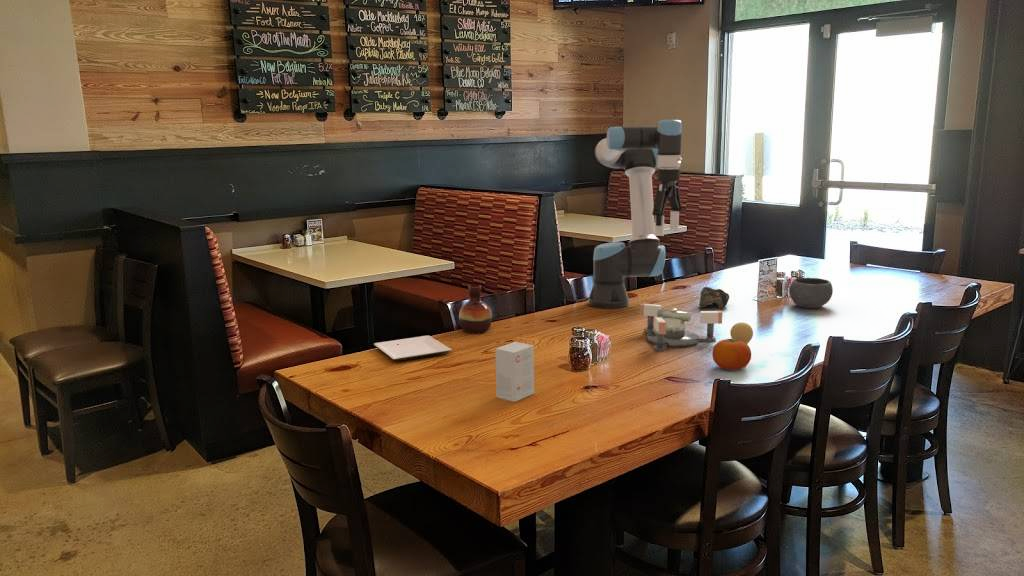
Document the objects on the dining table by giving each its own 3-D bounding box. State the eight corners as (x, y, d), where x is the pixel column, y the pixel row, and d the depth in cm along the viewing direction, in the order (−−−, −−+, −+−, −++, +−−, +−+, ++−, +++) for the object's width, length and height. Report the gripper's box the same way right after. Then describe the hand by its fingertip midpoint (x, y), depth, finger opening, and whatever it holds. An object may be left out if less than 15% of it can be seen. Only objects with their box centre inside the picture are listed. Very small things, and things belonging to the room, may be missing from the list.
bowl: (787, 310, 284) (789, 283, 281) (789, 301, 297) (791, 275, 295) (831, 313, 278) (833, 285, 276) (831, 304, 292) (833, 278, 289)
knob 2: (654, 342, 240) (654, 317, 238) (661, 342, 240) (661, 317, 238) (658, 348, 233) (659, 322, 232) (665, 348, 233) (666, 322, 232)
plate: (393, 365, 226) (393, 358, 226) (373, 349, 242) (373, 343, 242) (452, 355, 235) (452, 349, 234) (429, 341, 251) (429, 334, 250)
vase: (497, 328, 264) (496, 283, 261) (483, 336, 255) (482, 290, 251) (468, 325, 269) (467, 281, 266) (453, 333, 259) (451, 287, 256)
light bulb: (752, 353, 231) (754, 321, 229) (751, 359, 226) (753, 326, 223) (730, 351, 233) (731, 319, 231) (728, 357, 228) (730, 324, 226)
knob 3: (700, 337, 245) (701, 312, 243) (699, 335, 247) (700, 310, 245) (721, 337, 245) (722, 312, 243) (719, 335, 247) (720, 310, 245)
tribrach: (621, 345, 242) (621, 313, 240) (647, 329, 259) (647, 300, 257) (696, 356, 229) (697, 322, 227) (718, 339, 247) (719, 308, 245)
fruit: (744, 376, 211) (745, 348, 209) (706, 370, 216) (707, 342, 215) (754, 365, 220) (756, 338, 218) (718, 360, 225) (719, 333, 224)
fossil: (727, 302, 294) (730, 282, 288) (728, 318, 288) (731, 298, 281) (697, 300, 296) (700, 280, 290) (698, 317, 289) (701, 296, 283)
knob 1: (660, 328, 256) (661, 304, 254) (659, 330, 254) (659, 306, 252) (641, 326, 258) (642, 303, 257) (639, 328, 257) (640, 304, 255)
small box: (515, 389, 204) (515, 341, 201) (534, 394, 200) (534, 345, 197) (495, 397, 198) (494, 348, 195) (514, 402, 194) (513, 352, 191)
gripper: (665, 170, 241) (664, 238, 245) (692, 166, 262) (690, 229, 266) (643, 170, 245) (641, 237, 249) (671, 166, 266) (669, 227, 270)
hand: (666, 233), depth 258 cm, fingers open, 13 cm apart
